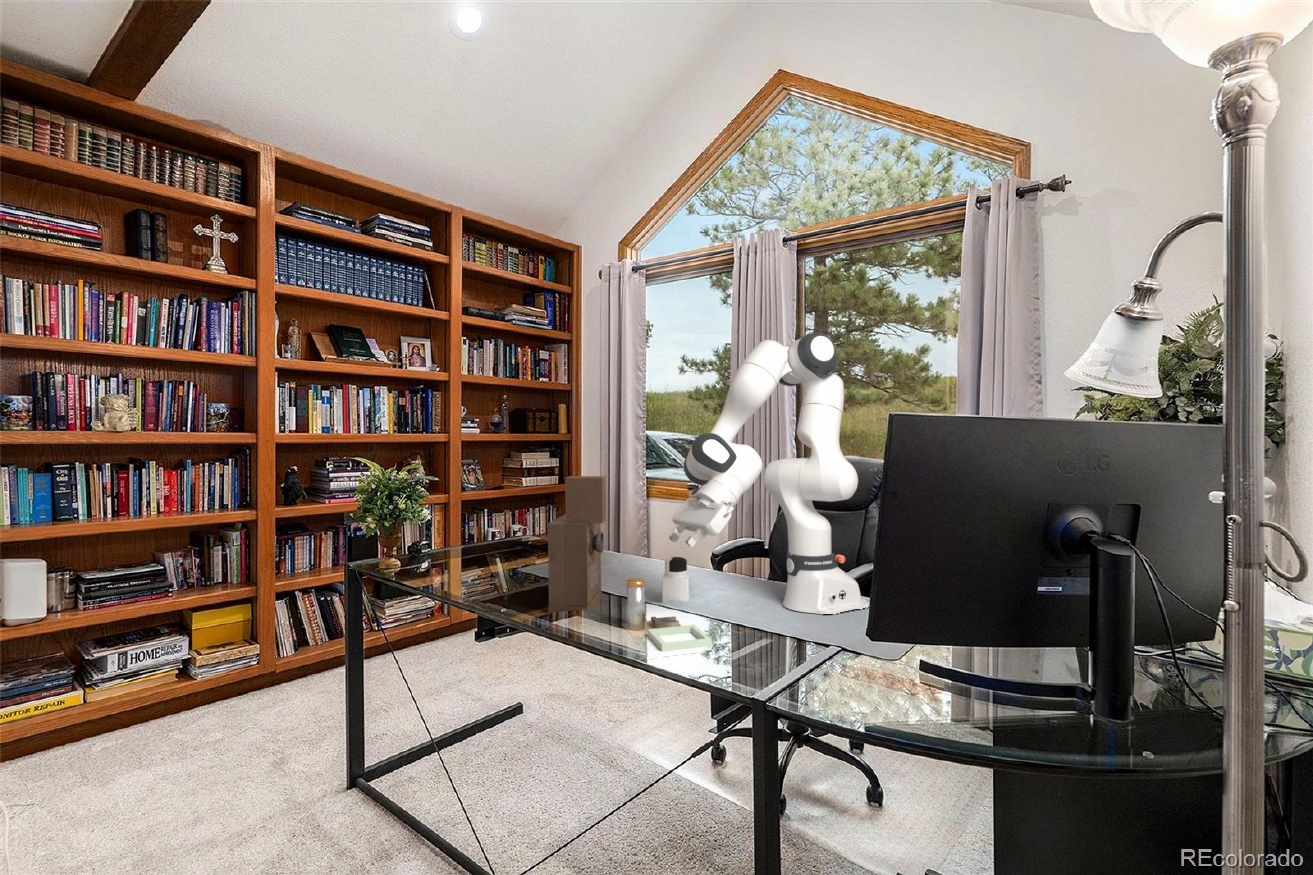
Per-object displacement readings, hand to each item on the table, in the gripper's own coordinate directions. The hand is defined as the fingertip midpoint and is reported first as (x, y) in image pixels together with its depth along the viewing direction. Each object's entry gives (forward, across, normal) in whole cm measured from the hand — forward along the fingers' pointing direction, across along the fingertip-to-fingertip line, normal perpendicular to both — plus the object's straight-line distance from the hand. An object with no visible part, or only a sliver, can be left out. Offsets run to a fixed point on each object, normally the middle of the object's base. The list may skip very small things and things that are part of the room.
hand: (679, 542), depth 158 cm
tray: (+19, -13, -10) cm, 25 cm away
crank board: (+20, -1, -9) cm, 22 cm away
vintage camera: (+25, +29, -2) cm, 39 cm away
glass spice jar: (+22, -1, -5) cm, 22 cm away
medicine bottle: (+7, +21, -20) cm, 30 cm away
